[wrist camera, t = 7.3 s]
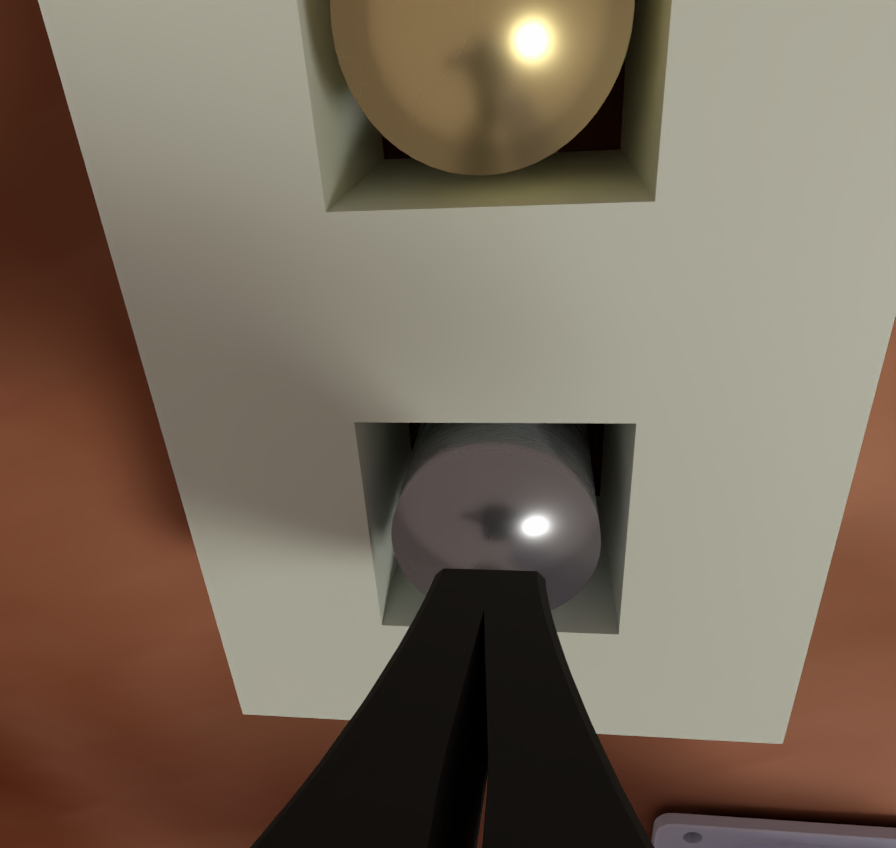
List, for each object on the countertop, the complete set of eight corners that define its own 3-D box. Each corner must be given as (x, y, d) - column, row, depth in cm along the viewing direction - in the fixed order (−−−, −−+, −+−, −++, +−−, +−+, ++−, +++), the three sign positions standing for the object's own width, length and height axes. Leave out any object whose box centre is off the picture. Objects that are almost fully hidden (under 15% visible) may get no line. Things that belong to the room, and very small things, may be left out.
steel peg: (589, 352, 13) (606, 455, 10) (583, 496, 15) (596, 623, 11) (417, 353, 13) (381, 453, 10) (428, 493, 15) (400, 617, 12)
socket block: (915, -449, 8) (1182, -780, 5) (729, 588, 16) (782, 743, 13) (117, -342, 10) (-120, -550, 6) (301, 575, 17) (242, 714, 14)
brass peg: (610, -124, 10) (647, -196, 7) (599, 129, 11) (625, 170, 8) (379, -104, 10) (308, -163, 7) (399, 138, 12) (349, 180, 8)
